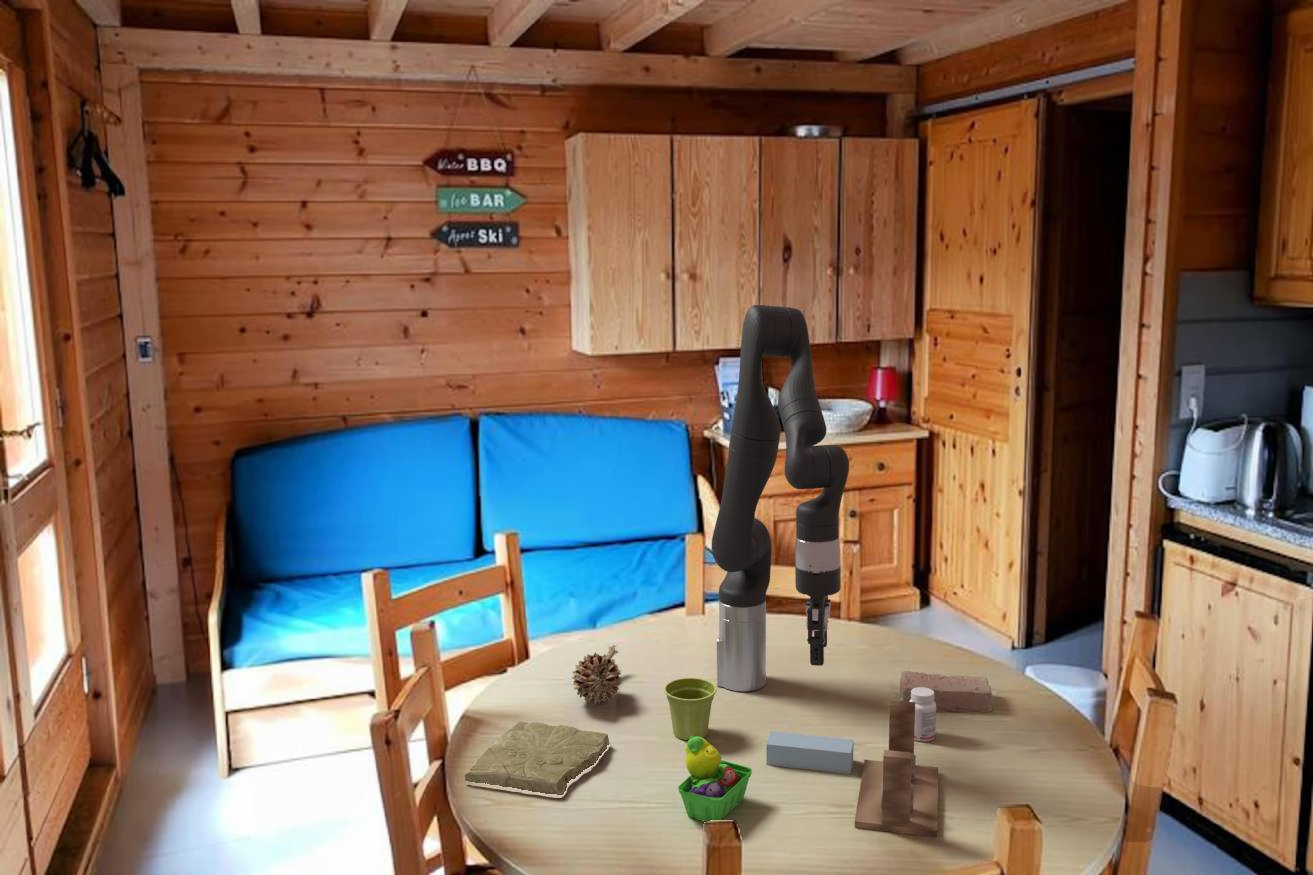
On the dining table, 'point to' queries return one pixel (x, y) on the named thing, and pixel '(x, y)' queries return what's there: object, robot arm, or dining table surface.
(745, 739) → the dining table surface
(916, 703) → the pill bottle
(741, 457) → the robot arm
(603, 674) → the pine cone
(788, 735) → the block
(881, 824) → the peg stand
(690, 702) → the plant pot
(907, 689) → the brick
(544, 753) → the decorative tile
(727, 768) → the fruit basket
